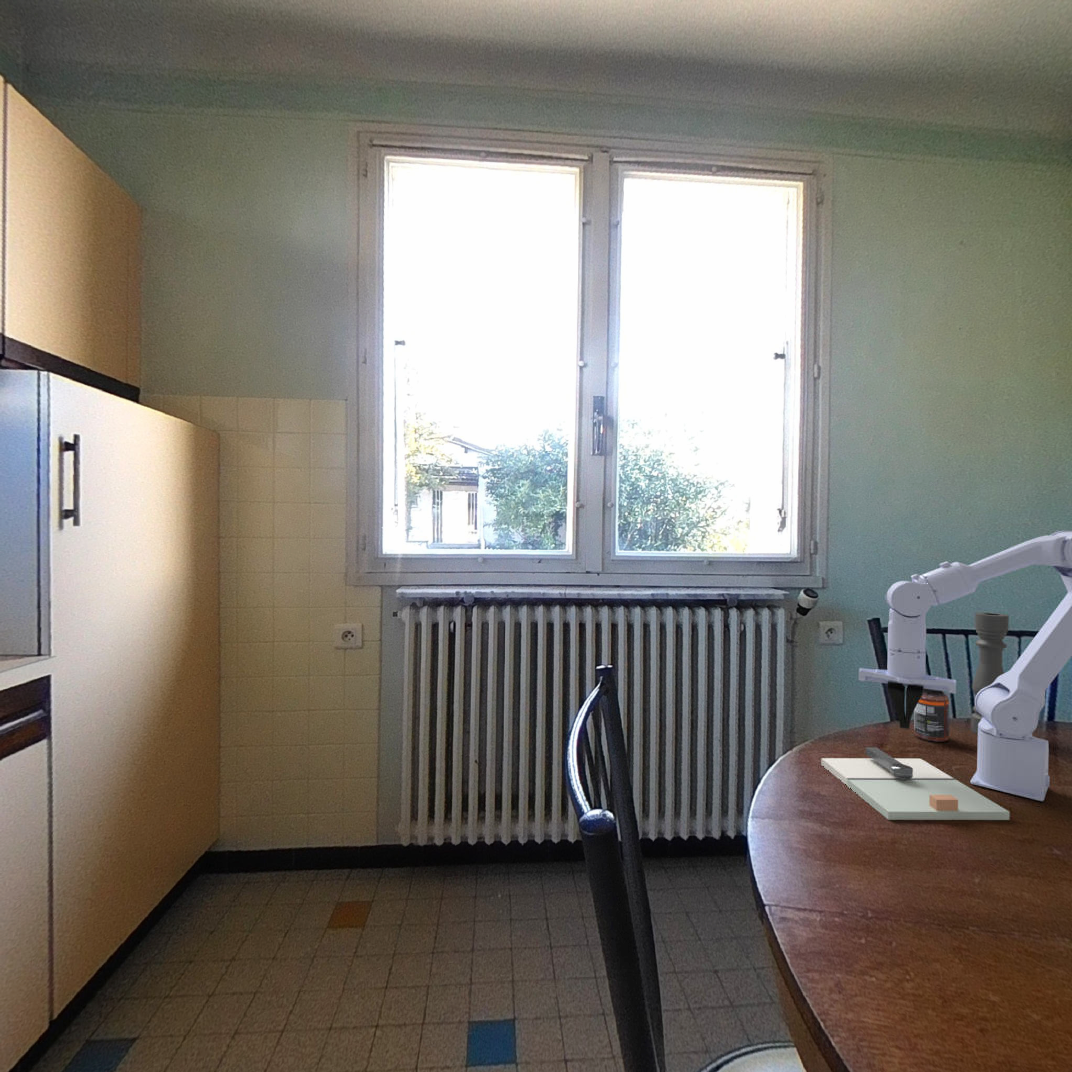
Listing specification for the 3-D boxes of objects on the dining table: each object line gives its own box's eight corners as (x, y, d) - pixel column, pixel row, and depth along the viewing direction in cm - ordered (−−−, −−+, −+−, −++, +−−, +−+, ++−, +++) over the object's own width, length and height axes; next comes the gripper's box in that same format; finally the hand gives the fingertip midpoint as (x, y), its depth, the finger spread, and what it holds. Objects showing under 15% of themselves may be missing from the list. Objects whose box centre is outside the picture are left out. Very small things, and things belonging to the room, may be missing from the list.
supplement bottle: (938, 733, 128) (939, 679, 127) (955, 743, 122) (956, 687, 122) (908, 732, 128) (909, 678, 128) (923, 742, 122) (924, 686, 122)
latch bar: (917, 778, 100) (917, 771, 100) (897, 778, 100) (897, 771, 100) (879, 754, 110) (879, 747, 110) (862, 754, 110) (862, 747, 110)
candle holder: (1000, 730, 130) (1003, 613, 129) (1012, 739, 124) (1015, 617, 124) (966, 726, 132) (969, 611, 131) (976, 736, 126) (979, 615, 126)
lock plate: (920, 765, 111) (920, 749, 110) (1009, 819, 90) (1009, 801, 90) (821, 764, 110) (821, 749, 110) (888, 819, 90) (888, 800, 90)
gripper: (857, 648, 108) (855, 724, 108) (956, 659, 100) (954, 742, 100) (862, 642, 114) (860, 714, 114) (956, 652, 106) (954, 730, 106)
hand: (904, 726), depth 107 cm, fingers closed
